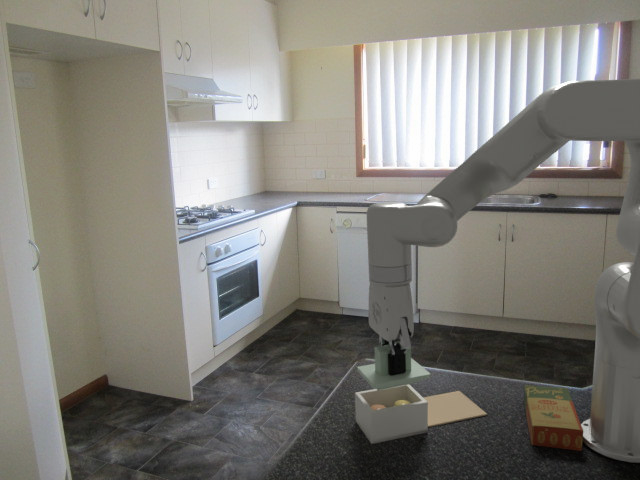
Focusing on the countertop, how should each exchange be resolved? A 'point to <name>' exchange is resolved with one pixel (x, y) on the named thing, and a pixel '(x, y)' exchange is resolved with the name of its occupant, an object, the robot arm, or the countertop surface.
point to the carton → (552, 418)
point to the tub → (391, 413)
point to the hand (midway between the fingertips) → (393, 369)
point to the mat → (451, 408)
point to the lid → (382, 379)
